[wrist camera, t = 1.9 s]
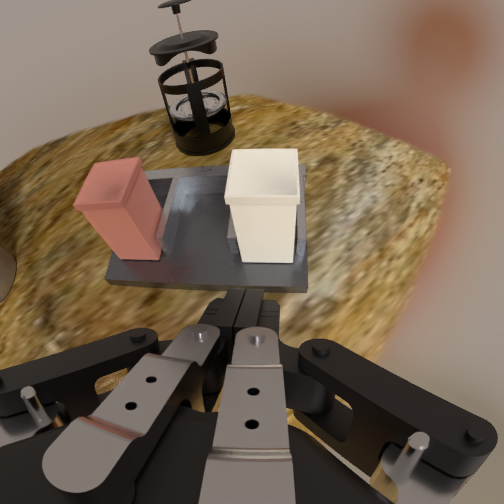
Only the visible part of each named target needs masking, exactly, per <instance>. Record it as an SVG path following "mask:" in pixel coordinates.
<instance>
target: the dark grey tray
mask: <svg viewBox="0 0 504 504" xmlns="http://www.w3.org/2000/svg"><path fill="white" fill-rule="evenodd" d="M229 166H230V165H228V166H205V167H188V168H173V169H161V170H150V171H144V173H145V175H146V177H147V179H148V181H149V183H150V186H151V188H152V190H153V192H154V194H155V196H156V198H157V200H158V202H159V204H160V206H161V208H162V210H163V212H162V216H161V219H160V223H159V226H158V230H157V234H156V237H155V238H156V240H157V241H158V243H159V245H160V246H161V248H162V250H161V254H160V259H159V260H135V259H120V258H119V257H118V256H117V255H116V254H115V252H114V251H113V253H112V256H111V259H110V263H109V266H108V269H107V273H106V276H105V280H106V281H107V282H108V283H110V284H111V285H122V286H137V287H152V288H169V289H189V290H212V291H228V289H229V288H238V289H246V290H247V289H264V292H282V293H307V289H308V265H307V237H306V216H305V198H304V189H305V175H306V174H305V165H298V168H299V185H300V205H299V204H297V208H296V224H295V240H294V254H293V263H265V262H242V258H241V254H240V249H239V245H238V241H237V236H236V232H235V227H234V223H233V219H232V214H231V210H230V205H229V204H226V203H225V199H224V196H225V190H226V183H227V177H228V172H229Z"/></svg>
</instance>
